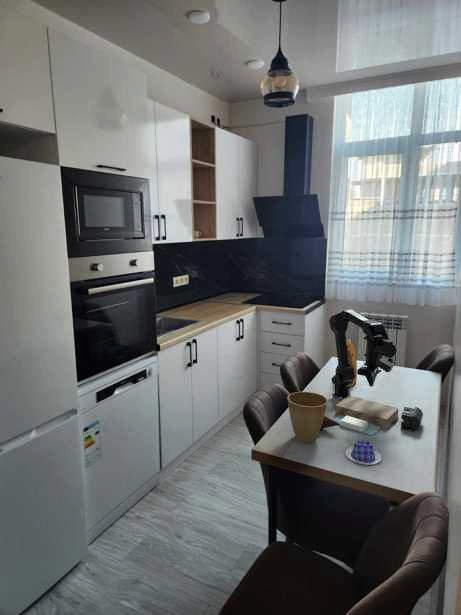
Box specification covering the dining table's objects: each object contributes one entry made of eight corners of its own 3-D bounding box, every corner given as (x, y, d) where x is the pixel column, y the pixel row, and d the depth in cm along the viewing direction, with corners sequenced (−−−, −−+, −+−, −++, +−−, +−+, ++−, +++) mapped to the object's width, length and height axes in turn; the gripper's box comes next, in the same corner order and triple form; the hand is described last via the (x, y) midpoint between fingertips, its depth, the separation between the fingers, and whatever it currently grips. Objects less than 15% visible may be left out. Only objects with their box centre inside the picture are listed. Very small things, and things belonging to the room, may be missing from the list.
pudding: (376, 449, 147) (377, 435, 146) (385, 467, 136) (386, 453, 135) (343, 447, 149) (343, 434, 148) (348, 465, 137) (349, 451, 136)
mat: (329, 422, 168) (329, 422, 168) (339, 415, 175) (339, 414, 175) (372, 436, 156) (372, 435, 156) (381, 427, 163) (381, 426, 163)
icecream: (342, 414, 161) (307, 409, 169) (337, 416, 155) (300, 411, 163) (342, 431, 161) (306, 426, 168) (336, 434, 154) (299, 429, 162)
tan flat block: (335, 413, 176) (335, 405, 176) (349, 403, 187) (349, 395, 186) (386, 428, 162) (386, 419, 162) (397, 416, 173) (398, 408, 172)
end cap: (419, 433, 158) (421, 417, 157) (400, 429, 162) (401, 413, 161) (422, 423, 167) (423, 408, 166) (403, 419, 170) (404, 404, 169)
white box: (346, 415, 169) (346, 420, 169) (340, 420, 165) (340, 425, 165) (367, 421, 163) (367, 426, 164) (361, 426, 159) (361, 431, 159)
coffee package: (334, 384, 211) (335, 343, 208) (339, 377, 222) (341, 338, 219) (353, 387, 207) (355, 345, 203) (358, 380, 218) (360, 340, 214)
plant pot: (316, 451, 145) (318, 409, 142) (280, 440, 153) (280, 400, 151) (332, 435, 157) (333, 396, 154) (297, 425, 165) (298, 388, 163)
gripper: (384, 360, 161) (382, 397, 163) (399, 350, 175) (397, 384, 177) (357, 355, 168) (355, 390, 170) (374, 345, 182) (372, 379, 184)
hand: (371, 386), depth 175 cm, fingers closed
